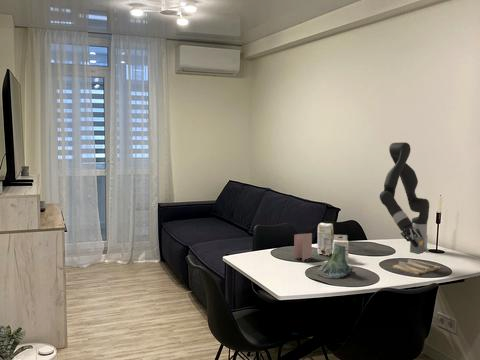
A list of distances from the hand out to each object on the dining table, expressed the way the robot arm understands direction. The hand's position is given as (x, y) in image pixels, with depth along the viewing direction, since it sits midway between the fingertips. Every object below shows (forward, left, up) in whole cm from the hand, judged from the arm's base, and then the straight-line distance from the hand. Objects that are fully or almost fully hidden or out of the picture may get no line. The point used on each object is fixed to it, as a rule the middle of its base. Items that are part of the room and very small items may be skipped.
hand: (419, 245), depth 253 cm
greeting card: (+40, -49, -13) cm, 64 cm away
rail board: (0, -2, -13) cm, 13 cm away
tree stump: (+44, -21, -13) cm, 51 cm away
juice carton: (+21, -52, -13) cm, 57 cm away
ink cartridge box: (+23, -37, -13) cm, 45 cm away
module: (0, -2, -4) cm, 5 cm away
